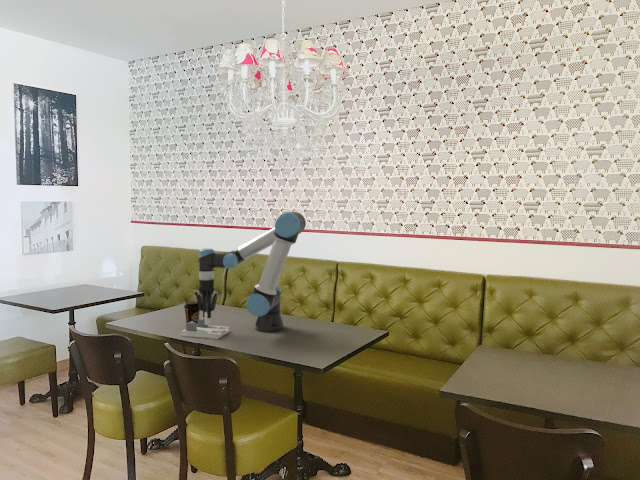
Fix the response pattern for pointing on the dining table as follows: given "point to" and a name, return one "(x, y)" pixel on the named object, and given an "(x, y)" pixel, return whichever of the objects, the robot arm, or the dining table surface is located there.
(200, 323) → the tab
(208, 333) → the switch bank
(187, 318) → the coffee cup
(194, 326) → the tab
